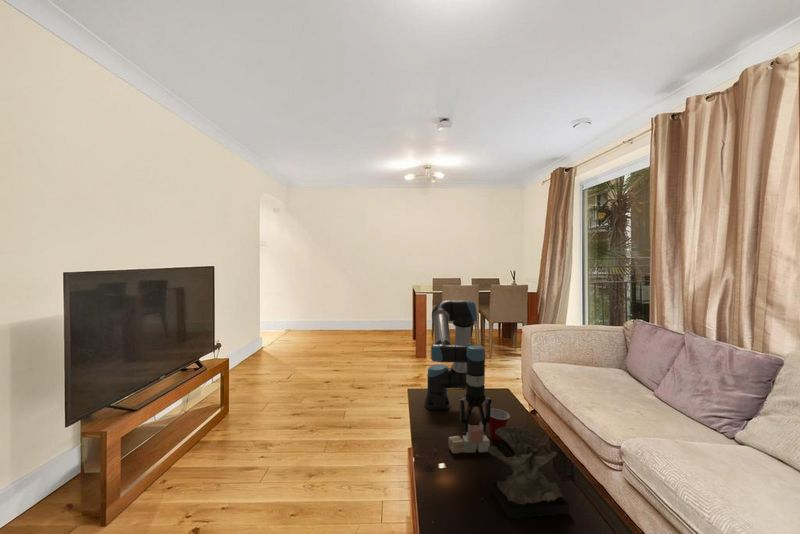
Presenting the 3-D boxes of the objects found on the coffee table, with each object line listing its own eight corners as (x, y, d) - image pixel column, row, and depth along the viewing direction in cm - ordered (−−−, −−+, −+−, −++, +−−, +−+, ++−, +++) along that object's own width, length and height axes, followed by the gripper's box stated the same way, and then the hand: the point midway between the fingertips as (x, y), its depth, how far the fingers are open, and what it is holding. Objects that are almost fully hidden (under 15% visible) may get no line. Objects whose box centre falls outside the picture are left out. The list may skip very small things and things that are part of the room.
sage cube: (462, 446, 153) (462, 435, 153) (473, 446, 153) (473, 435, 153) (464, 452, 148) (464, 441, 148) (475, 452, 148) (475, 441, 148)
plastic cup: (511, 444, 155) (511, 418, 155) (487, 442, 156) (487, 417, 156) (507, 432, 165) (507, 408, 165) (485, 431, 167) (485, 407, 167)
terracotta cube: (467, 437, 142) (467, 425, 141) (478, 436, 142) (478, 425, 142) (470, 443, 137) (470, 431, 137) (482, 443, 137) (482, 431, 137)
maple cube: (448, 447, 152) (448, 436, 151) (458, 446, 153) (458, 435, 153) (453, 453, 147) (453, 442, 147) (463, 452, 148) (463, 441, 148)
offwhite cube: (474, 446, 153) (474, 435, 153) (484, 445, 154) (484, 434, 154) (478, 452, 148) (479, 441, 148) (489, 451, 149) (489, 440, 149)
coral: (497, 520, 109) (498, 455, 109) (477, 479, 129) (478, 424, 129) (570, 515, 111) (571, 452, 111) (539, 477, 131) (540, 422, 131)
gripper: (456, 387, 134) (455, 445, 135) (499, 386, 136) (499, 443, 136) (452, 381, 142) (451, 435, 142) (493, 380, 143) (492, 433, 144)
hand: (474, 439), depth 139 cm, fingers closed on terracotta cube, 5 cm apart
